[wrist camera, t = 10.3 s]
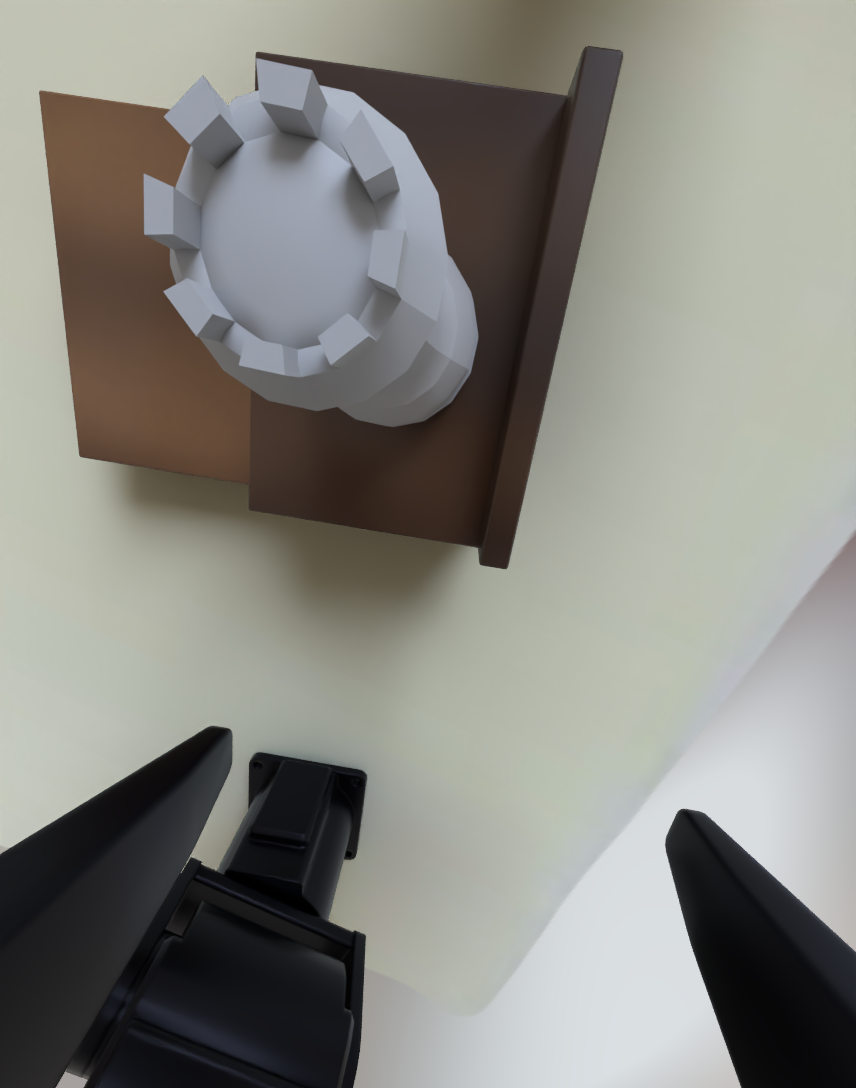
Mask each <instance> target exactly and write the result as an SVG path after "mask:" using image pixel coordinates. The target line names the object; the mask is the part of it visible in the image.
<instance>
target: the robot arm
mask: <svg viewBox="0 0 856 1088" xmlns="http://www.w3.org/2000/svg"><path fill="white" fill-rule="evenodd" d="M259 762H260V763H259ZM231 765H232V731H231V730H230V729H229V728H224V727H218V726H210V727H207V728H206V729H204V730H202V731H201V732H199V733H197V734H196V735H194V736H193V737H191V738H189V739H188V740H186V741H184V742H183V743H181V744H180V745H178V746H176V747H175V748H173V749H171V750H170V751H168V752H166V753H165V754H163V755H162V756H160V757H158V758H157V759H155V760H153V761H152V762H150V763H148V764H147V765H145V766H144V767H142V768H140V769H139V770H137V771H135V772H134V773H132V774H130V775H129V776H127V777H126V778H124V779H122V780H121V781H119V782H117V783H116V784H114V785H112V786H111V787H109V788H108V789H106V790H104V791H103V792H101V793H99V794H98V795H96V796H94V797H93V798H91V799H90V800H88V801H86V802H85V803H83V804H81V805H80V806H78V807H77V808H75V809H73V810H72V811H70V812H68V813H67V814H65V815H63V816H62V817H60V818H59V819H57V820H55V821H54V822H52V823H50V824H49V825H47V826H45V827H44V828H42V829H41V830H39V831H37V832H36V833H34V834H32V835H31V836H29V837H27V838H26V839H24V840H23V841H21V842H19V843H18V844H16V845H14V846H13V847H11V848H9V849H8V850H6V851H5V852H3V853H2V854H0V1088H55V1087H56V1086H57V1084H58V1082H59V1081H60V1079H61V1077H62V1076H63V1074H64V1072H65V1071H66V1072H68V1073H71V1074H73V1075H76V1076H78V1077H82V1078H85V1079H88V1081H87V1082H86V1084H85V1086H84V1088H353V1085H354V1080H355V1076H356V1071H357V1065H358V1059H359V1052H360V1042H361V1028H362V1006H363V985H364V963H365V942H366V935H364V934H362V933H360V932H358V931H353V932H351V931H349V930H347V929H345V928H342V927H340V926H338V925H336V924H334V923H331V922H329V921H328V919H329V915H330V911H331V907H332V903H333V899H334V895H335V892H336V888H337V884H338V880H339V876H340V872H341V868H342V864H343V860H344V859H346V860H351V859H354V858H355V857H356V854H357V849H358V842H359V835H360V828H361V820H362V813H363V805H364V798H365V790H366V783H367V775H366V774H365V773H364V772H363V771H361V770H357V769H351V768H346V767H340V766H334V765H329V764H323V763H317V762H312V761H306V760H300V759H295V758H289V757H284V756H278V755H272V754H267V753H256V754H254V755H253V757H252V759H251V760H250V763H249V806H248V812H247V814H246V816H245V817H244V819H243V821H242V823H241V825H240V827H239V829H238V831H237V833H236V835H235V837H234V839H233V841H232V843H231V845H230V846H229V848H228V850H227V852H226V854H225V856H224V858H223V860H222V862H221V864H220V866H219V868H218V870H217V871H215V870H213V869H211V868H208V867H206V866H204V865H202V864H201V863H202V862H201V861H199V860H197V859H195V858H192V857H191V858H190V860H189V861H188V863H187V865H186V866H185V864H186V862H187V860H188V859H189V857H190V855H191V853H192V851H193V849H194V847H195V845H196V843H197V841H198V839H199V837H200V834H201V832H202V830H203V828H204V826H205V824H206V821H207V819H208V817H209V815H210V813H211V811H212V808H213V806H214V804H215V802H216V800H217V798H218V796H219V793H220V791H221V789H222V787H223V785H224V783H225V780H226V778H227V776H228V774H229V772H230V769H231ZM356 779H358V780H356ZM665 846H666V853H667V856H668V860H669V864H670V868H671V871H672V876H673V879H674V883H675V887H676V891H677V895H678V898H679V902H680V906H681V910H682V913H683V917H684V921H685V925H686V929H687V932H688V936H689V939H690V942H691V946H692V949H693V952H694V955H695V957H696V961H697V964H698V967H699V969H700V972H701V975H702V978H703V980H704V983H705V986H706V989H707V992H708V995H709V998H710V1000H711V1003H712V1006H713V1009H714V1012H715V1015H716V1017H717V1020H718V1023H719V1026H720V1029H721V1032H722V1034H723V1037H724V1040H725V1043H726V1045H727V1048H728V1051H729V1054H730V1057H731V1060H732V1063H733V1066H734V1068H735V1071H736V1074H737V1077H738V1080H739V1082H740V1085H741V1088H856V952H855V951H854V950H853V949H852V948H851V947H850V946H849V945H847V944H846V943H845V942H844V941H843V940H842V939H841V938H840V937H839V936H838V935H837V934H836V933H834V932H833V931H832V930H831V929H830V928H829V927H828V926H827V925H826V924H825V923H824V922H823V921H821V920H820V919H819V918H818V917H817V916H816V915H815V914H814V913H813V912H811V911H810V910H809V909H808V908H807V907H806V906H805V905H804V904H803V903H802V902H801V901H800V900H799V899H797V898H796V897H795V896H794V895H793V894H792V893H791V892H790V891H789V890H788V889H787V888H785V887H784V886H783V885H782V884H781V883H780V882H779V881H778V880H777V879H776V878H775V877H773V876H772V875H771V874H770V873H769V872H768V871H767V870H766V869H765V868H764V867H763V866H762V865H760V864H759V863H758V862H757V861H756V860H755V859H754V858H753V857H751V856H750V854H748V853H747V852H746V851H745V850H744V849H743V848H742V847H741V846H740V845H739V844H737V843H736V842H735V841H734V840H733V839H732V838H731V837H730V836H729V835H727V833H726V832H724V831H723V830H722V829H721V828H720V827H719V826H718V825H717V824H716V823H715V822H714V821H712V820H711V819H710V818H709V817H708V816H707V815H706V814H704V813H702V812H699V811H694V810H689V809H681V810H679V811H678V812H677V814H676V816H675V819H674V821H673V823H672V825H671V827H670V830H669V832H668V834H667V837H666V843H665ZM184 866H185V868H184ZM183 868H184V870H183V871H182V869H183ZM181 871H182V873H181ZM68 1065H69V1066H68ZM66 1069H67V1070H66Z"/></svg>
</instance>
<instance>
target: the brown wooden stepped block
mask: <svg viewBox="0 0 856 1088" xmlns="http://www.w3.org/2000/svg"><path fill="white" fill-rule="evenodd" d="M256 58H257V59H262V60H267V61H271V62H276V63H281V64H285V65H290V66H295V67H299V68H304V69H309V70H312V71H313V73H314V75H315V77H316V80H317V82H318V84H319V85H321V86H326V87H330V88H335V89H340V90H344V91H349V92H353V93H355V94H356V95H357V96H359V97H360V98H361V99H362V100H364V101H365V102H366V103H367V104H369V105H370V106H371V107H372V108H374V109H375V110H376V111H377V112H379V113H380V114H381V115H382V116H384V117H385V118H386V119H387V120H389V121H390V122H391V123H392V124H394V125H395V126H396V127H397V128H399V129H400V130H401V131H402V132H404V133H405V134H406V136H407V138H408V140H409V142H410V143H411V145H412V147H413V149H414V151H415V152H416V154H417V156H418V158H419V160H420V162H421V163H422V165H423V167H424V169H425V171H426V172H427V174H428V176H429V178H430V180H431V181H432V183H433V185H434V187H435V189H436V191H437V192H438V195H439V202H440V208H441V215H442V221H443V227H444V234H445V240H446V247H447V253H448V255H449V256H450V257H452V259H453V261H454V263H455V264H456V266H457V268H458V270H459V272H460V273H461V275H462V277H463V279H464V280H465V282H466V284H467V286H468V287H469V289H470V291H471V294H472V298H473V302H474V309H475V316H476V322H477V329H478V336H479V338H478V342H477V347H476V351H475V356H474V360H473V365H472V370H471V374H470V375H469V377H468V378H467V380H466V381H465V383H464V384H463V386H462V387H461V389H460V390H459V392H458V393H457V395H456V396H455V398H454V399H453V401H452V402H451V403H450V404H448V405H447V406H445V407H444V408H443V409H441V410H440V411H438V412H437V413H435V414H434V415H432V416H431V417H429V418H428V419H427V420H425V421H422V422H417V423H412V424H407V425H402V426H397V427H390V426H384V425H379V424H374V423H370V422H365V421H360V420H356V419H354V418H353V417H351V416H350V415H348V414H347V413H346V412H344V411H343V410H341V409H340V408H338V407H335V408H330V409H325V410H320V411H314V410H309V409H305V408H300V407H295V406H291V405H286V404H282V403H277V402H272V401H268V400H266V399H265V398H263V397H262V396H260V395H259V394H258V393H256V392H255V391H253V390H252V389H250V388H249V387H247V386H246V385H244V384H243V383H241V382H240V381H238V380H237V379H235V378H234V377H232V376H231V375H229V374H228V373H227V372H225V371H224V370H223V369H222V368H221V366H220V365H219V364H218V362H217V361H216V360H215V358H214V357H213V355H212V354H211V353H210V351H209V350H208V349H207V347H206V346H205V345H204V343H203V342H202V340H201V339H200V338H199V337H196V335H195V334H194V333H193V331H192V330H191V329H190V327H189V326H188V324H187V323H186V322H185V320H184V319H183V318H182V316H181V315H180V314H179V312H178V311H177V310H176V308H175V307H174V305H173V304H172V303H171V301H170V300H169V299H168V297H167V296H166V295H165V293H164V292H163V291H165V290H167V289H169V288H170V287H172V286H174V285H176V282H175V279H174V276H173V272H172V269H171V266H170V248H169V247H167V246H165V245H163V244H161V243H159V242H157V241H155V240H153V239H152V238H150V237H148V236H146V235H144V174H146V175H148V176H150V177H153V178H155V179H157V180H159V181H161V182H164V183H166V184H168V185H170V186H172V187H174V188H175V187H176V184H177V182H178V179H179V176H180V174H181V171H182V168H183V166H184V163H185V160H186V158H187V155H188V152H189V150H190V147H191V145H190V144H189V143H188V142H187V141H186V140H185V139H184V138H183V137H182V136H181V135H180V134H179V132H178V131H177V130H176V129H175V128H174V127H173V126H172V125H171V124H170V123H169V122H168V121H167V120H166V119H165V118H164V116H165V115H166V114H167V113H168V112H169V110H170V109H164V108H157V107H150V106H143V105H137V104H130V103H123V102H116V101H109V100H102V99H95V98H88V97H82V96H75V95H68V94H61V93H54V92H47V91H40V92H39V95H40V104H41V113H42V122H43V131H44V140H45V149H46V158H47V167H48V176H49V185H50V194H51V203H52V212H53V221H54V230H55V239H56V248H57V257H58V266H59V275H60V284H61V293H62V302H63V311H64V321H65V330H66V339H67V348H68V357H69V366H70V375H71V384H72V393H73V402H74V411H75V420H76V429H77V438H78V447H79V455H80V457H83V458H89V459H95V460H102V461H108V462H114V463H120V464H126V465H132V466H138V467H144V468H150V469H157V470H163V471H169V472H175V473H181V474H187V475H193V476H199V477H205V478H212V479H218V480H224V481H230V482H236V483H242V484H248V485H249V510H252V511H258V512H264V513H270V514H276V515H282V516H289V517H295V518H301V519H307V520H313V521H319V522H325V523H331V524H337V525H343V526H349V527H355V528H361V529H367V530H373V531H379V532H386V533H392V534H398V535H404V536H410V537H416V538H422V539H428V540H434V541H440V542H446V543H452V544H458V545H464V546H470V547H476V548H478V554H479V562H480V565H483V566H489V567H495V568H501V569H507V568H508V565H509V561H510V556H511V552H512V547H513V543H514V539H515V534H516V530H517V525H518V521H519V516H520V512H521V507H522V503H523V499H524V494H525V490H526V485H527V481H528V476H529V472H530V468H531V463H532V459H533V454H534V450H535V445H536V441H537V437H538V432H539V428H540V423H541V419H542V414H543V410H544V405H545V401H546V397H547V392H548V388H549V383H550V379H551V374H552V370H553V366H554V361H555V357H556V352H557V348H558V343H559V339H560V335H561V330H562V326H563V321H564V317H565V312H566V308H567V303H568V299H569V295H570V290H571V286H572V281H573V277H574V272H575V268H576V264H577V259H578V255H579V250H580V246H581V241H582V237H583V233H584V228H585V224H586V219H587V215H588V210H589V206H590V201H591V197H592V193H593V188H594V184H595V179H596V175H597V170H598V166H599V162H600V157H601V153H602V148H603V144H604V139H605V135H606V131H607V126H608V122H609V117H610V113H611V108H612V104H613V99H614V95H615V91H616V86H617V82H618V77H619V73H620V68H621V64H622V60H623V52H622V51H621V50H613V49H606V48H599V47H592V46H587V47H585V48H584V50H583V51H582V54H581V57H580V60H579V63H578V65H577V68H576V71H575V74H574V77H573V80H572V83H571V85H570V88H569V91H568V94H567V96H565V95H558V94H551V93H544V92H537V91H530V90H523V89H516V88H509V87H502V86H495V85H488V84H481V83H474V82H467V81H460V80H453V79H446V78H439V77H432V76H425V75H418V74H411V73H404V72H397V71H390V70H383V69H375V68H368V67H361V66H354V65H347V64H340V63H333V62H326V61H319V60H312V59H305V58H298V57H291V56H284V55H277V54H270V53H263V52H256ZM258 90H259V87H258V76H257V66H256V71H255V91H258Z"/></svg>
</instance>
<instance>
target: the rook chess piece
mask: <svg viewBox="0 0 856 1088" xmlns="http://www.w3.org/2000/svg"><path fill="white" fill-rule="evenodd" d="M256 66H257V76H258V87H259V90H258V91H255V92H251V93H248V94H245V95H242V96H239V97H236V98H235V99H234V100H233V101H232V102H231V103H230V104H229V105H228V106H227V105H226V103H225V102H224V101H223V100H222V98H221V97H220V96H219V95H218V93H217V92H216V91H215V90H214V88H213V87H212V86H211V85H210V83H209V82H208V81H207V80H206V78H205V77H204V76H202V77H201V78H200V79H199V80H198V81H197V82H196V83H195V84H194V85H193V86H192V87H191V88H190V89H189V90H188V91H187V93H186V94H185V95H184V96H183V97H182V98H181V99H180V100H179V101H178V102H177V103H176V104H175V105H174V106H173V107H172V108H171V109H170V110H169V112H168V113H167V114H166V115H165V116H164V118H165V119H166V120H167V121H168V122H169V123H170V124H171V125H172V126H173V127H174V128H175V129H176V130H177V131H178V132H179V134H180V135H181V136H182V137H183V138H184V139H185V140H186V141H187V142H188V143H189V144H190V145H191V147H190V150H189V152H188V155H187V158H186V160H185V163H184V166H183V168H182V171H181V174H180V176H179V179H178V182H177V184H176V187H175V188H174V187H172V186H170V185H168V184H166V183H164V182H161V181H159V180H157V179H155V178H153V177H150V176H148V175H146V174H144V235H146V236H148V237H150V238H152V239H153V240H155V241H157V242H159V243H161V244H163V245H165V246H167V247H169V248H170V266H171V269H172V272H173V276H174V279H175V282H176V285H174V286H172V287H170V288H169V289H167V290H165V291H163V292H164V293H165V295H166V296H167V297H168V299H169V300H170V301H171V303H172V304H173V305H174V307H175V308H176V310H177V311H178V312H179V314H180V315H181V316H182V318H183V319H184V320H185V322H186V323H187V324H188V326H189V327H190V329H191V330H192V331H193V333H194V334H195V335H196V337H199V338H200V339H201V340H202V342H203V343H204V345H205V346H206V347H207V349H208V350H209V351H210V353H211V354H212V355H213V357H214V358H215V360H216V361H217V362H218V364H219V365H220V366H221V368H222V369H223V370H224V371H225V372H227V373H228V374H229V375H231V376H232V377H234V378H235V379H237V380H238V381H240V382H241V383H243V384H244V385H246V386H247V387H249V388H250V389H252V390H253V391H255V392H256V393H258V394H259V395H260V396H262V397H263V398H265V399H266V400H268V401H272V402H277V403H282V404H286V405H291V406H295V407H300V408H305V409H309V410H314V411H320V410H325V409H330V408H335V407H338V408H340V409H341V410H343V411H344V412H346V413H347V414H348V415H350V416H351V417H353V418H354V419H356V420H360V421H365V422H370V423H374V424H379V425H384V426H390V427H397V426H402V425H407V424H412V423H417V422H422V421H425V420H427V419H428V418H429V417H431V416H432V415H434V414H435V413H437V412H438V411H440V410H441V409H443V408H444V407H445V406H447V405H448V404H450V403H451V402H452V401H453V399H454V398H455V396H456V395H457V393H458V392H459V390H460V389H461V387H462V386H463V384H464V383H465V381H466V380H467V378H468V377H469V375H470V374H471V370H472V365H473V360H474V356H475V351H476V347H477V342H478V338H479V336H478V329H477V322H476V316H475V309H474V302H473V298H472V294H471V291H470V289H469V287H468V286H467V284H466V282H465V280H464V279H463V277H462V275H461V273H460V272H459V270H458V268H457V266H456V264H455V263H454V261H453V259H452V257H450V256H449V255H448V253H447V247H446V240H445V234H444V227H443V221H442V215H441V208H440V202H439V195H438V192H437V191H436V189H435V187H434V185H433V183H432V181H431V180H430V178H429V176H428V174H427V172H426V171H425V169H424V167H423V165H422V163H421V162H420V160H419V158H418V156H417V154H416V152H415V151H414V149H413V147H412V145H411V143H410V142H409V140H408V138H407V136H406V134H405V133H404V132H402V131H401V130H400V129H399V128H397V127H396V126H395V125H394V124H392V123H391V122H390V121H389V120H387V119H386V118H385V117H384V116H382V115H381V114H380V113H379V112H377V111H376V110H375V109H374V108H372V107H371V106H370V105H369V104H367V103H366V102H365V101H364V100H362V99H361V98H360V97H359V96H357V95H356V94H355V93H353V92H349V91H344V90H340V89H335V88H330V87H326V86H321V85H319V84H318V82H317V80H316V77H315V75H314V73H313V71H312V70H309V69H304V68H299V67H295V66H290V65H285V64H281V63H276V62H271V61H267V60H262V59H257V58H256Z"/></svg>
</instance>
